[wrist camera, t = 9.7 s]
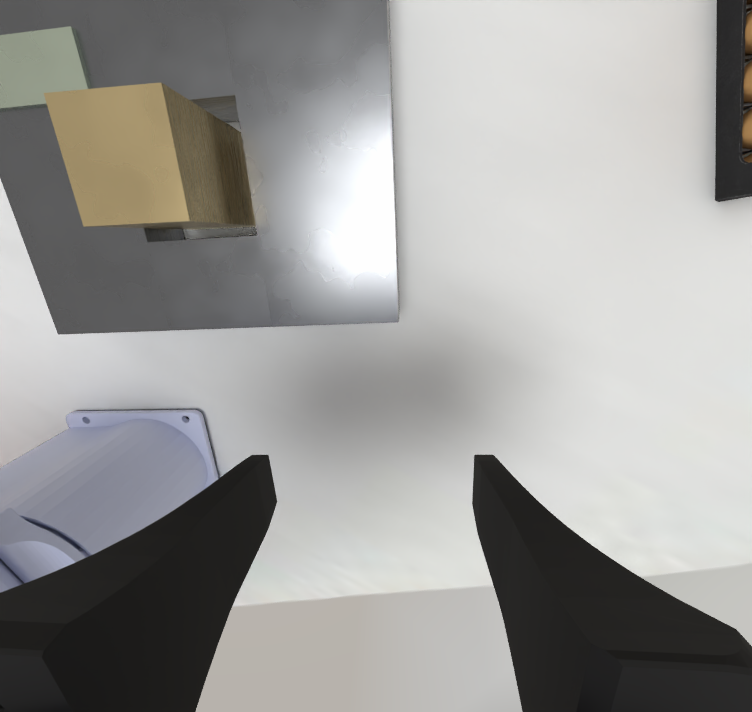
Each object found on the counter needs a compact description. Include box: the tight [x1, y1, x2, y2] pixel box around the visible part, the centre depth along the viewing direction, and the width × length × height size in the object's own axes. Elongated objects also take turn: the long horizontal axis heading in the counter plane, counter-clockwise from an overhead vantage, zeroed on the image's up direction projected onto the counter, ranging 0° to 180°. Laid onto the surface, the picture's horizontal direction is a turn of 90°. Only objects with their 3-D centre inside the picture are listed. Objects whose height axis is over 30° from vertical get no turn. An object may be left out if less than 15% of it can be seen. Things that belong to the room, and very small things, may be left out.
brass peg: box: [44, 82, 256, 230], centre depth 15 cm, size 4×4×7 cm
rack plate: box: [0, 0, 399, 334], centre depth 16 cm, size 18×14×3 cm
